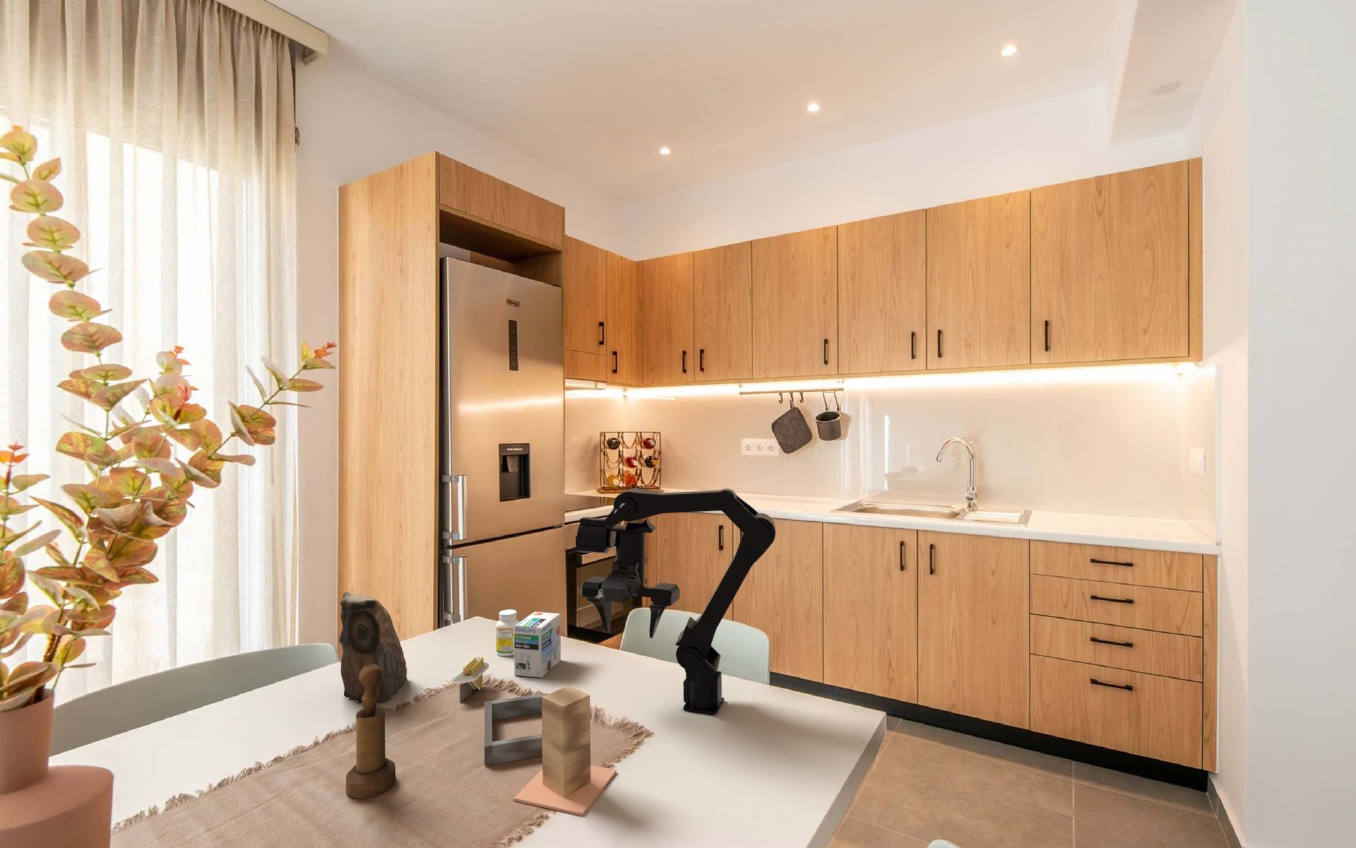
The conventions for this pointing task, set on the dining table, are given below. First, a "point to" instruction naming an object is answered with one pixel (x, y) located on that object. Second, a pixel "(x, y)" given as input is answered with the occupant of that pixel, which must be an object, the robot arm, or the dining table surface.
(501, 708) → the nook
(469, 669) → the platform
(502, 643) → the supplement bottle
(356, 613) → the owl
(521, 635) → the light bulb box
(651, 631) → the robot arm
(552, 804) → the mat
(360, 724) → the mortar and pestle
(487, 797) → the dining table surface
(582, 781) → the block
